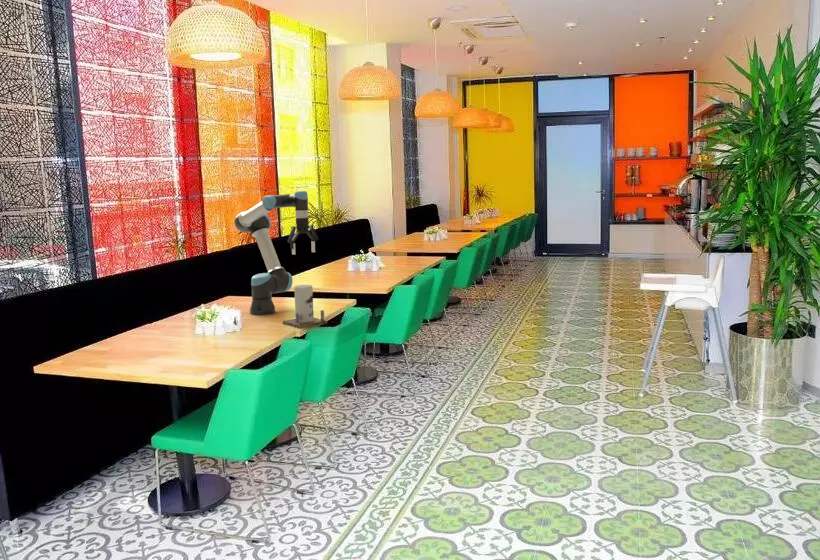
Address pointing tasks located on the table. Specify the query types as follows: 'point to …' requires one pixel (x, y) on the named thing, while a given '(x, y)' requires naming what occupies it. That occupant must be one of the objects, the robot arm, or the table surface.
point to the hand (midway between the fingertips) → (303, 253)
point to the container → (304, 302)
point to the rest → (306, 324)
